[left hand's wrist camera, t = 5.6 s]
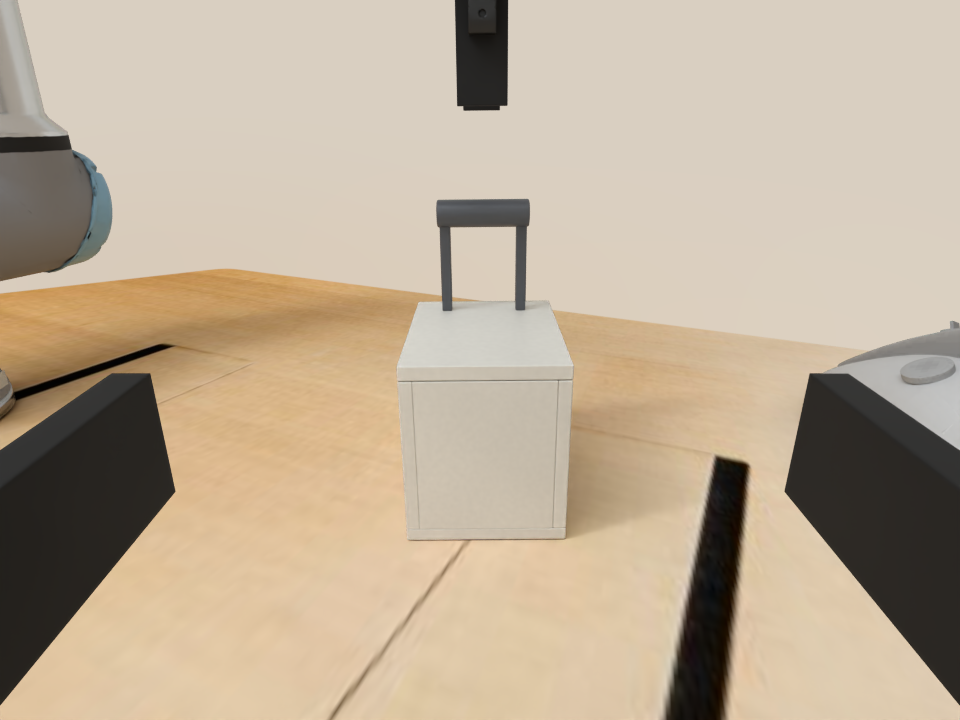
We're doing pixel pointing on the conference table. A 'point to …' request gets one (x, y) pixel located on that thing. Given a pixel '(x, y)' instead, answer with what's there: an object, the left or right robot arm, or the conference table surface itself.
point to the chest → (485, 458)
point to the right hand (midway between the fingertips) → (481, 109)
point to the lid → (484, 315)
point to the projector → (917, 378)
